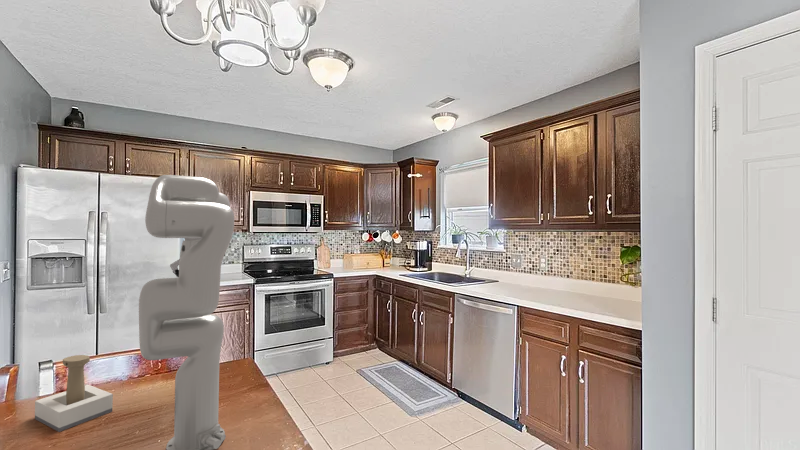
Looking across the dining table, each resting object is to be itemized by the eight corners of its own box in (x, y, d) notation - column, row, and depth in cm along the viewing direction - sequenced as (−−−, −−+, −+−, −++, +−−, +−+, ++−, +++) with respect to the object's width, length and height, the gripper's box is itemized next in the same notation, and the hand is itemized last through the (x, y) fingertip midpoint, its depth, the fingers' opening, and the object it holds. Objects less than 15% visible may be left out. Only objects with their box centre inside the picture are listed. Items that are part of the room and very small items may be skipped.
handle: (74, 417, 99) (75, 362, 100) (56, 414, 101) (58, 360, 101) (92, 408, 104) (94, 356, 104) (76, 406, 106) (77, 354, 106)
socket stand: (112, 411, 105) (112, 394, 105) (59, 431, 94) (59, 412, 94) (87, 400, 111) (87, 384, 111) (34, 418, 100) (35, 400, 100)
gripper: (179, 236, 112) (178, 292, 112) (227, 236, 128) (226, 284, 128) (164, 236, 116) (163, 290, 115) (213, 235, 131) (212, 283, 131)
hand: (196, 287), depth 121 cm, fingers open, 9 cm apart
